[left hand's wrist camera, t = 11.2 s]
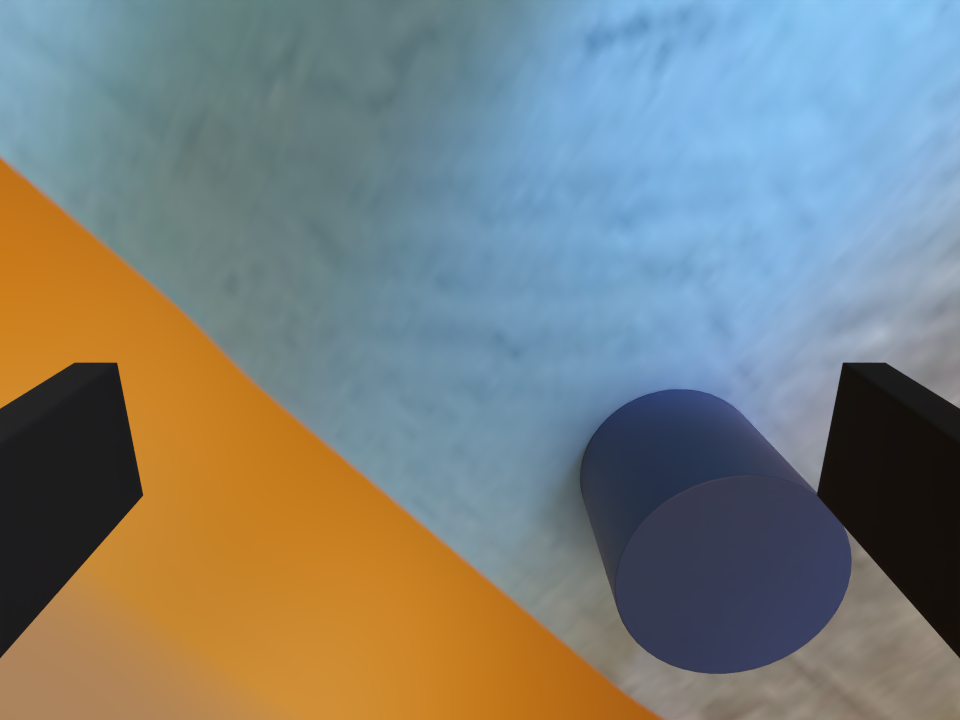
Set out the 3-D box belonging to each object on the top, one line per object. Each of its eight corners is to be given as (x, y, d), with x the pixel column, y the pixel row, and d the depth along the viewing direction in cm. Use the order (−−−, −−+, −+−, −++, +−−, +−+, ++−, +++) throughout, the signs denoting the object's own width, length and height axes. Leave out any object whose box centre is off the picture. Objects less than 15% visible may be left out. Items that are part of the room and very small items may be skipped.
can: (775, 522, 33) (866, 640, 25) (605, 570, 33) (645, 698, 26) (742, 365, 30) (833, 444, 23) (559, 420, 31) (588, 515, 23)
